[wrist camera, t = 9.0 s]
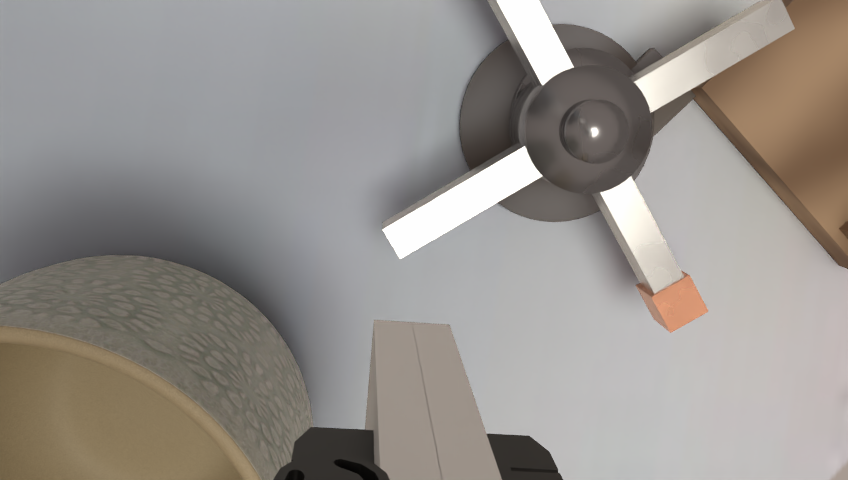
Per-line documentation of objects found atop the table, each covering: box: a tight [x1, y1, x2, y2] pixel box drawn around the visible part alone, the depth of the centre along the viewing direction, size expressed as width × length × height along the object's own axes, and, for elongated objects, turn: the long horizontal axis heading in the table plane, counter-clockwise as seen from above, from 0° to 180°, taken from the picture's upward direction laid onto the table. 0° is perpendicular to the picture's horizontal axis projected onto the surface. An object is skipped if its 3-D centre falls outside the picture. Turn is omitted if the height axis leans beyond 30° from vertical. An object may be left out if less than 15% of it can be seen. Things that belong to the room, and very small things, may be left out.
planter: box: [0, 255, 313, 480], centre depth 30 cm, size 17×17×15 cm
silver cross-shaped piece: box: [382, 0, 795, 333], centre depth 32 cm, size 18×18×6 cm
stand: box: [460, 0, 848, 269], centre depth 33 cm, size 20×21×7 cm
